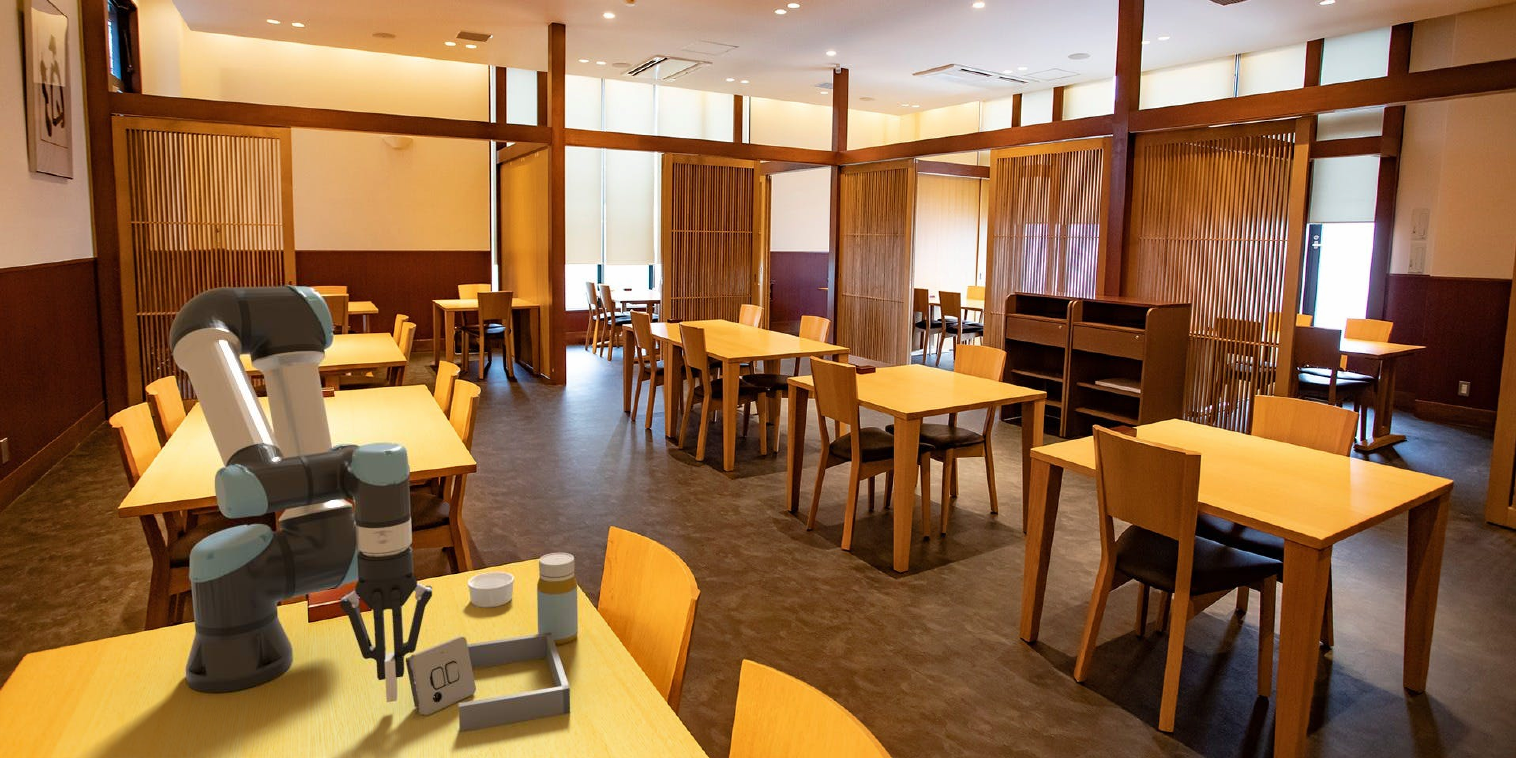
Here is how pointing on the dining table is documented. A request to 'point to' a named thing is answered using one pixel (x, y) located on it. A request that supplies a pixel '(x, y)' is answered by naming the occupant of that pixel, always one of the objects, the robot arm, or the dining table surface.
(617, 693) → the dining table surface
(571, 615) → the bottle
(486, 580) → the ramekin
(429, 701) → the electrical switch
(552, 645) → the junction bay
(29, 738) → the dining table surface
